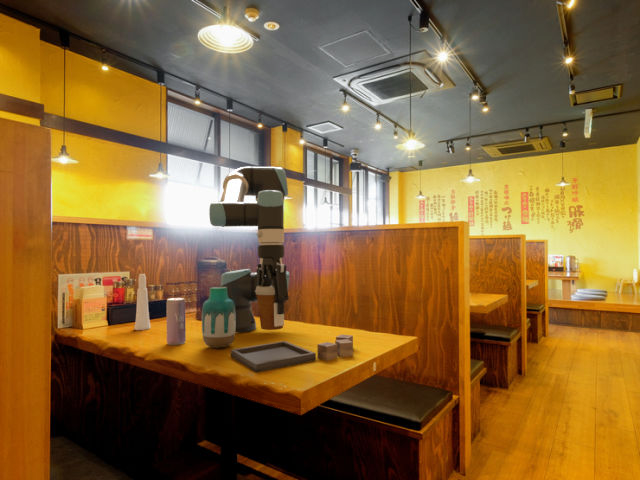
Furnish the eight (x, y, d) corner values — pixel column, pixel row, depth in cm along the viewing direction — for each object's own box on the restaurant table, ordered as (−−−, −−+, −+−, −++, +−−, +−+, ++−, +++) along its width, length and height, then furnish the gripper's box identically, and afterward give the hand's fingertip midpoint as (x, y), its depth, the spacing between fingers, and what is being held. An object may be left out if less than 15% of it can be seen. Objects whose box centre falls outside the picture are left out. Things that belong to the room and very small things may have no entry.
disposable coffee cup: (283, 331, 106) (282, 287, 106) (250, 330, 108) (249, 287, 108) (292, 325, 115) (292, 284, 116) (262, 324, 117) (261, 284, 118)
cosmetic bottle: (148, 329, 155) (148, 274, 155) (132, 330, 154) (131, 274, 154) (152, 326, 161) (152, 273, 161) (136, 327, 160) (136, 273, 160)
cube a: (317, 358, 111) (317, 344, 112) (327, 355, 114) (327, 341, 114) (327, 361, 109) (327, 346, 109) (337, 358, 111) (337, 344, 112)
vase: (200, 345, 128) (199, 287, 129) (232, 341, 133) (232, 285, 133) (204, 353, 119) (203, 290, 119) (238, 349, 123) (238, 288, 123)
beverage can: (180, 340, 136) (180, 297, 136) (188, 343, 132) (188, 298, 132) (163, 343, 132) (163, 299, 132) (171, 346, 127) (171, 300, 128)
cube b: (335, 353, 116) (335, 340, 116) (347, 352, 117) (347, 339, 117) (340, 357, 112) (340, 343, 112) (353, 355, 114) (352, 342, 114)
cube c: (336, 350, 120) (335, 337, 120) (341, 347, 124) (341, 334, 124) (348, 351, 118) (347, 338, 119) (353, 348, 122) (352, 335, 122)
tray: (230, 356, 114) (230, 349, 114) (284, 347, 124) (284, 340, 124) (256, 372, 99) (256, 364, 99) (315, 360, 109) (315, 353, 109)
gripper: (244, 245, 119) (245, 319, 118) (276, 243, 102) (277, 331, 101) (266, 245, 123) (267, 317, 123) (300, 243, 106) (302, 327, 105)
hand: (271, 323), depth 112 cm, fingers closed on disposable coffee cup, 8 cm apart
